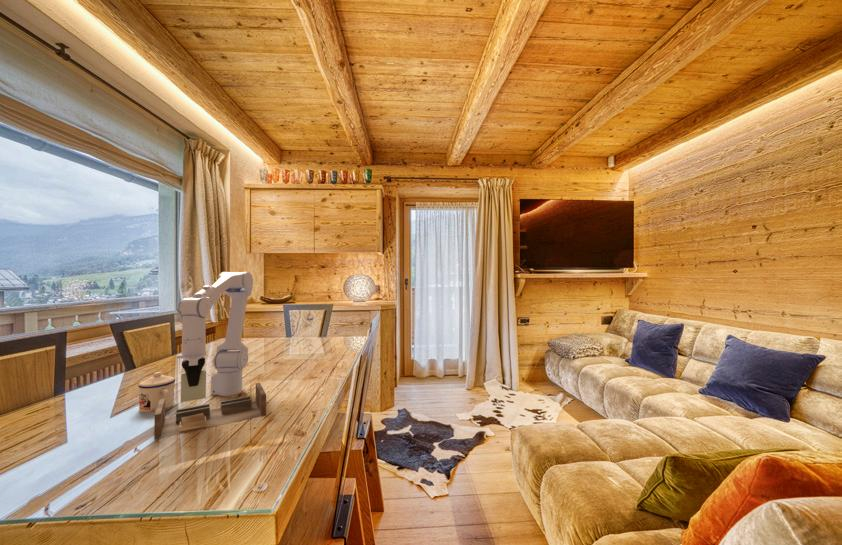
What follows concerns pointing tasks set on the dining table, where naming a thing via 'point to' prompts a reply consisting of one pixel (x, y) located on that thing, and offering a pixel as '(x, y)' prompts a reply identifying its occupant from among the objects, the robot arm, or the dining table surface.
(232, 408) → the rack
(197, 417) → the offcut upper
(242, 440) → the dining table surface
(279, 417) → the dining table surface
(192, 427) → the offcut lower
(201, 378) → the beige flat block
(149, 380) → the teacup with lid
